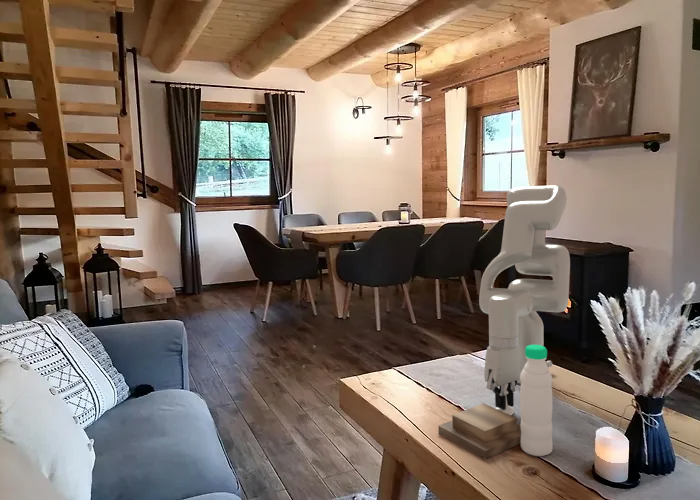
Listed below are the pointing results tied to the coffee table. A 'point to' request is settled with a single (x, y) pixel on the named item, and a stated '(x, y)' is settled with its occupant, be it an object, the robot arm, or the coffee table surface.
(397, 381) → the coffee table surface
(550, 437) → the water bottle
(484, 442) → the plinth
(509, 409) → the chess piece
